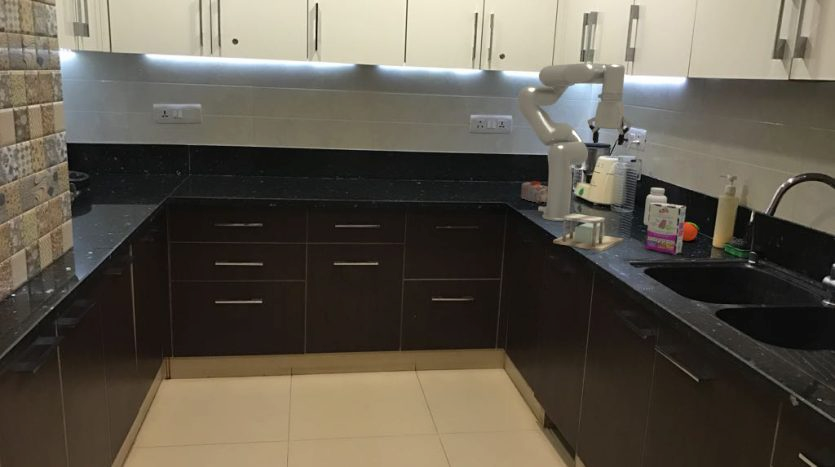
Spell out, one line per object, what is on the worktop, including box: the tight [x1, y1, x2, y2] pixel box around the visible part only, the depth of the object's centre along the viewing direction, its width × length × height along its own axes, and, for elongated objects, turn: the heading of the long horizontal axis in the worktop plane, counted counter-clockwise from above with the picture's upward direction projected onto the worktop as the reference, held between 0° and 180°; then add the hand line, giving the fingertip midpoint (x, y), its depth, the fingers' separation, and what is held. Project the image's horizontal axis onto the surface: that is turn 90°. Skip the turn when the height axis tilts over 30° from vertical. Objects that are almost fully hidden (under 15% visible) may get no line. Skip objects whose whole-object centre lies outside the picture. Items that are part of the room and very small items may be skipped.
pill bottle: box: [643, 187, 668, 226], centre depth 283 cm, size 8×8×15 cm
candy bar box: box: [645, 202, 687, 256], centre depth 240 cm, size 11×5×16 cm, turn 45°
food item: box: [520, 180, 548, 204], centre depth 329 cm, size 14×8×10 cm, turn 31°
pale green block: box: [574, 223, 605, 243], centre depth 251 cm, size 6×13×5 cm, turn 144°
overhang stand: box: [552, 213, 624, 252], centre depth 250 cm, size 18×20×10 cm
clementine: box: [683, 221, 700, 242], centre depth 257 cm, size 8×7×7 cm
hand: (607, 143), depth 265 cm, fingers open, 9 cm apart
